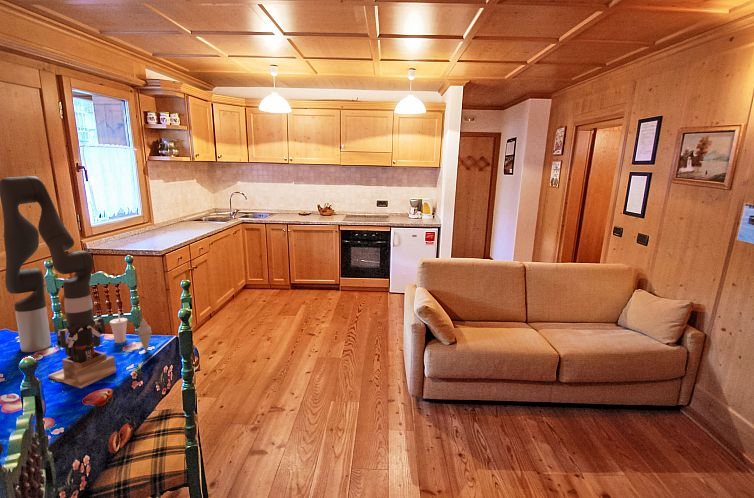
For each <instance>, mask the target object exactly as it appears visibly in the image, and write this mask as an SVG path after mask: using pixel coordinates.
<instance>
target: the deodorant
mask: <svg viewBox="0 0 754 498" xmlns="http://www.w3.org/2000/svg"><path fill="white" fill-rule="evenodd" d="M76 333H77V337H78V338H77V340H76V341H75V342H74V343H73V345H72V347H73V354H74V356H73V358H74V362H77V363H82V362H85V361H87V360H90V359H92V358H95V352H94V350H95V347H94V344H93V337H94V336H93V335H92V328H89V329H83V331H81V332H75V334H76ZM75 334H74V335H75ZM74 335H73V334H71V338H73V337H74Z"/></svg>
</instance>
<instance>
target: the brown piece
mask: <svg viewBox="0 0 754 498" xmlns="http://www.w3.org/2000/svg"><path fill="white" fill-rule="evenodd" d="M106 357H107V358H105V359H102V360H100V361H98V362H95V363H93V364H90V365H88V366H86V367H83V368H81V369H79V370H76V371H75V376H76V380H73V379H70V378H67V377H64V370H63V368H61V369H59V370H57V371H55V372H52V373H50V374H48V378H49V379H52V380H55V381H58V382H61V383H64V384H67V385H70V386H72V387H75V388H79V389H84V387H88V386H89V385H91V384H94V383H95V382H98V381H100V380H102V379H104V378H107V377H109V376H111V375H113V374H115V373H117V368H116V357H115V356H113V355H110V356H106Z"/></svg>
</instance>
